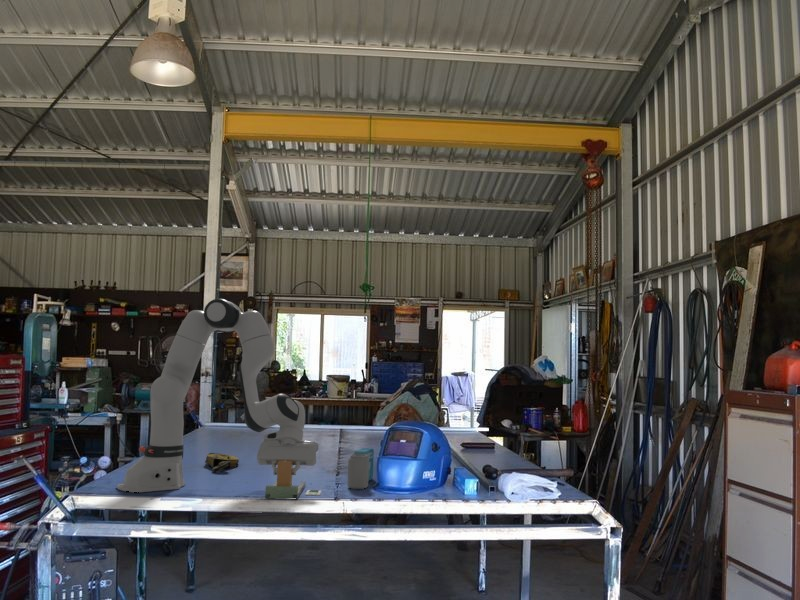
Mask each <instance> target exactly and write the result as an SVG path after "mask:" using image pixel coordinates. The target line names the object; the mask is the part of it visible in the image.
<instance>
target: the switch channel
mask: <svg viewBox="0 0 800 600" xmlns="http://www.w3.org/2000/svg"><path fill="white" fill-rule="evenodd" d="M305 487H306V481H301V482H300V483H299V485H292V486H277V480H276V481H275V482H274V483H273V484H271V485H270V484H268V485H265V493H264V495H265V496H264V499H265V498H296V499H295V500H298V499H299V497H300V496H299V495H301V493H302V492H303V490H304V489H305ZM322 491H323V490H321V489H319V490H318V489H314V490H313V489H307V491H305V494H304V496H321V494H322ZM297 498H298V499H297Z"/></svg>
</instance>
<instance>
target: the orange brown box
mask: <svg viewBox="0 0 800 600" xmlns="http://www.w3.org/2000/svg"><path fill="white" fill-rule="evenodd" d="M293 466H294V465H293V461H289V460H279V461H278V465H277V467H276V468H277V475H276V481H277V486H293V475H291V471H292V468H294V467H293Z"/></svg>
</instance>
